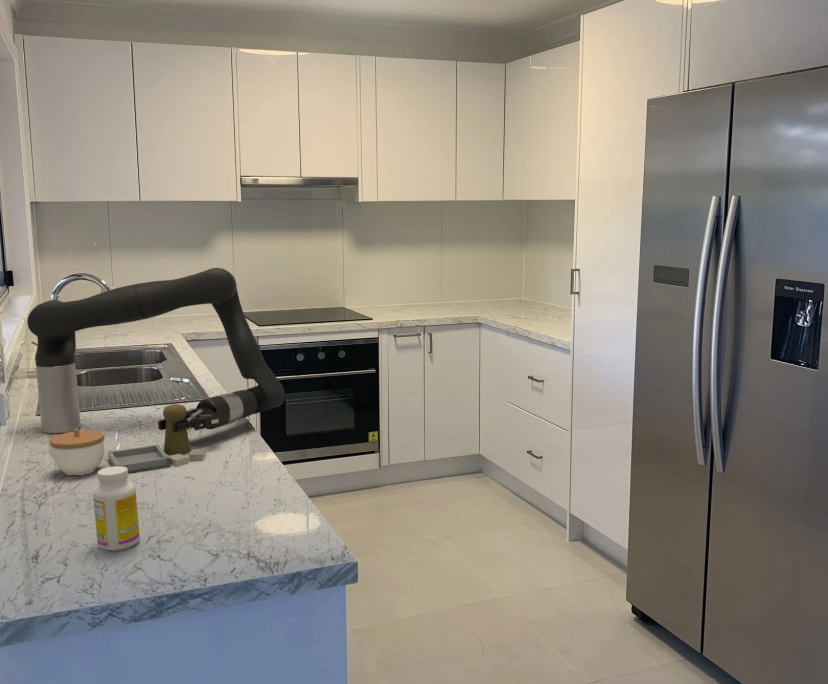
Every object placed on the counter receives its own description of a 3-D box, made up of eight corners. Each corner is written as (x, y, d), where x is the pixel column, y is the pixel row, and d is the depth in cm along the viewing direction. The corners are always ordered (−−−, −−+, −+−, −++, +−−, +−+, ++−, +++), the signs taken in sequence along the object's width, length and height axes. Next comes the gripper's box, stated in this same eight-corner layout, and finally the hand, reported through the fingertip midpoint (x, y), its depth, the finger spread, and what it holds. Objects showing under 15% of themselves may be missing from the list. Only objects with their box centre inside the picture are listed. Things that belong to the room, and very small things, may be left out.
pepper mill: (180, 446, 191) (177, 400, 189) (196, 450, 187) (193, 404, 185) (158, 452, 186) (155, 405, 185) (173, 456, 183) (170, 409, 181)
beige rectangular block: (192, 457, 183) (192, 449, 183) (205, 456, 183) (205, 449, 183) (189, 462, 179) (188, 454, 179) (202, 462, 179) (202, 454, 179)
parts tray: (108, 460, 181) (107, 451, 180) (158, 452, 186) (158, 444, 185) (117, 475, 170) (116, 466, 170) (170, 466, 175) (169, 457, 175)
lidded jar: (49, 482, 167) (45, 438, 165) (57, 466, 177) (53, 425, 175) (104, 476, 169) (100, 433, 168) (108, 461, 180) (105, 421, 178)
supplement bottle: (144, 535, 138) (139, 463, 136) (132, 551, 131) (127, 476, 129) (105, 536, 138) (99, 464, 136) (91, 552, 131) (85, 477, 129)
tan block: (167, 464, 178) (166, 456, 178) (179, 461, 180) (179, 453, 180) (175, 468, 175) (175, 460, 175) (188, 465, 177) (188, 457, 177)
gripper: (198, 392, 201) (143, 407, 186) (241, 398, 194) (187, 414, 179) (200, 421, 202) (145, 438, 188) (242, 428, 195) (189, 447, 180)
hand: (166, 426), depth 183 cm, fingers closed on pepper mill, 4 cm apart
